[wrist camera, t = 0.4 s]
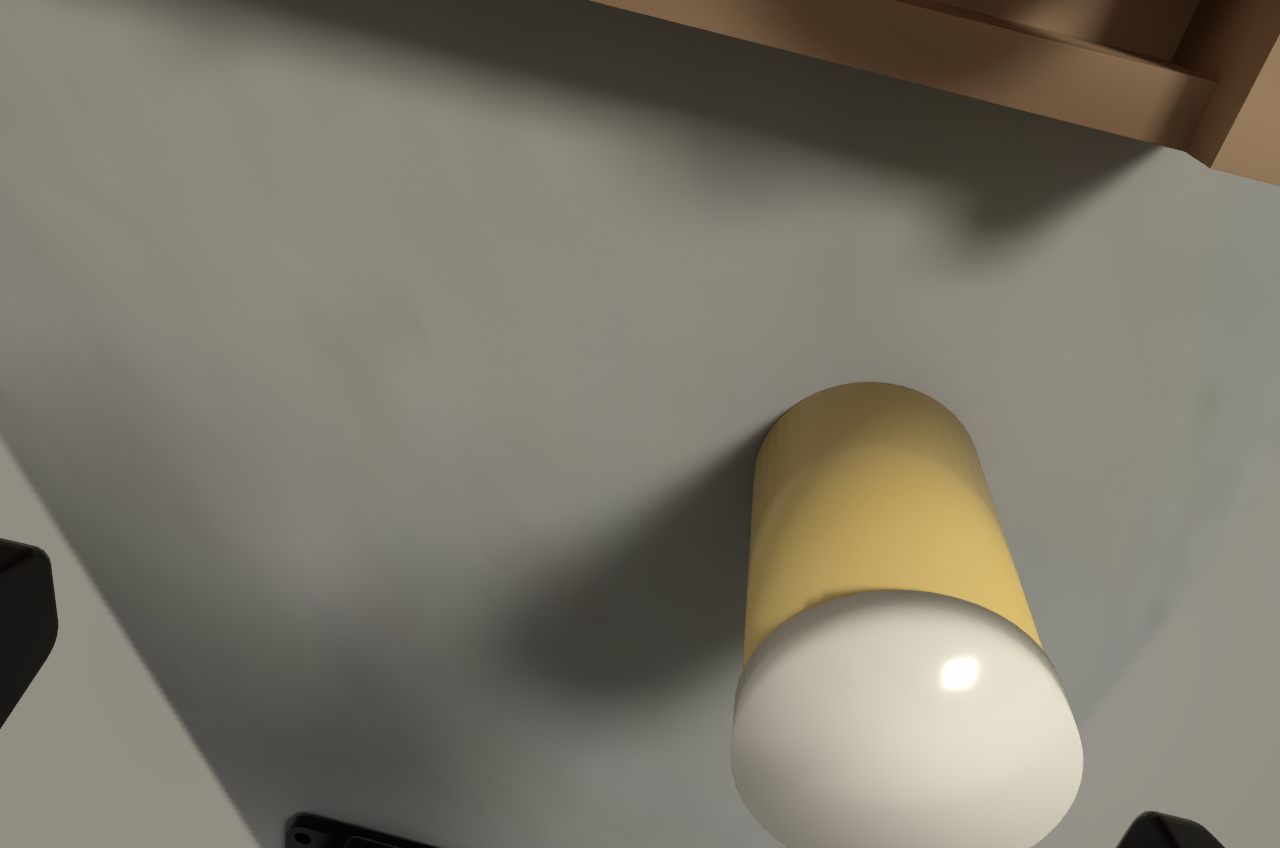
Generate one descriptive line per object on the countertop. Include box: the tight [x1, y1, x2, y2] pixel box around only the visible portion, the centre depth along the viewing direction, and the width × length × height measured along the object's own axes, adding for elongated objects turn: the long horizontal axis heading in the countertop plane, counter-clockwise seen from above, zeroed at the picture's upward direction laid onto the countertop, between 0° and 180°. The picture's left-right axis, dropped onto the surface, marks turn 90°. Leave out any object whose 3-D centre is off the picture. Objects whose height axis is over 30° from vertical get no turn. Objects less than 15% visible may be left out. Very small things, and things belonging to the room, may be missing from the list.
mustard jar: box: [731, 382, 1083, 848], centre depth 18 cm, size 5×5×8 cm
